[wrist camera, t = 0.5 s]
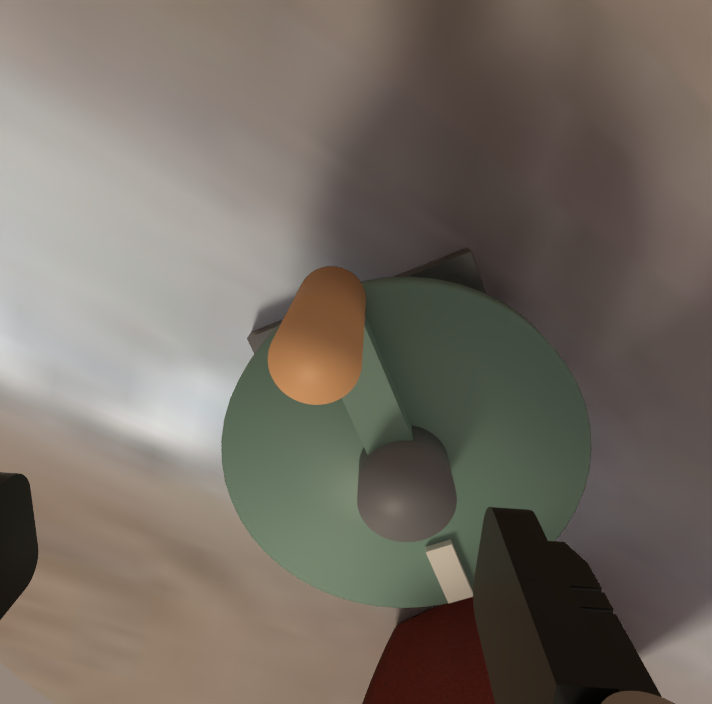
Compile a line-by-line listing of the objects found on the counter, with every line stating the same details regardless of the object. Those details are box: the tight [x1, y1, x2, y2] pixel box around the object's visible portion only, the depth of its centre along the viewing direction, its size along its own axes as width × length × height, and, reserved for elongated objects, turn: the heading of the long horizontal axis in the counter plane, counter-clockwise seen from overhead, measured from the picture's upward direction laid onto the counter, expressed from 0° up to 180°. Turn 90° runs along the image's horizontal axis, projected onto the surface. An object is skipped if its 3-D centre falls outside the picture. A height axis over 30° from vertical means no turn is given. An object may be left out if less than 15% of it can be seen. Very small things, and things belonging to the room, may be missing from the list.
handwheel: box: [222, 266, 591, 608], centre depth 25 cm, size 20×18×9 cm
